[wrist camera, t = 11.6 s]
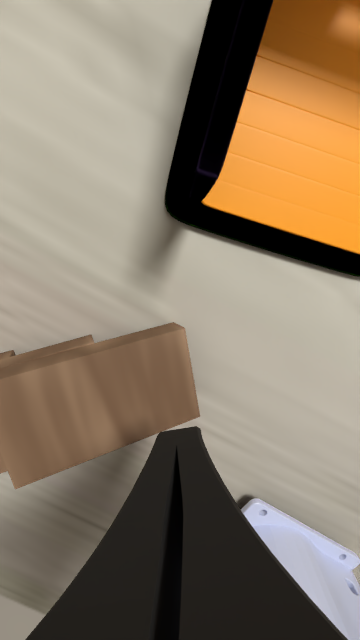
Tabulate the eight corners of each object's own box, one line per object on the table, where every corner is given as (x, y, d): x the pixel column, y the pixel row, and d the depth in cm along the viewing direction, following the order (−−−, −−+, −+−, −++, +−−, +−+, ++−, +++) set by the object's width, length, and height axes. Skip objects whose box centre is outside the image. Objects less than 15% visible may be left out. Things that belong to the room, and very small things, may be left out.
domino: (184, 328, 14) (-26, 386, 11) (200, 416, 15) (15, 489, 12) (173, 322, 15) (-14, 372, 12) (188, 403, 17) (20, 465, 14)
